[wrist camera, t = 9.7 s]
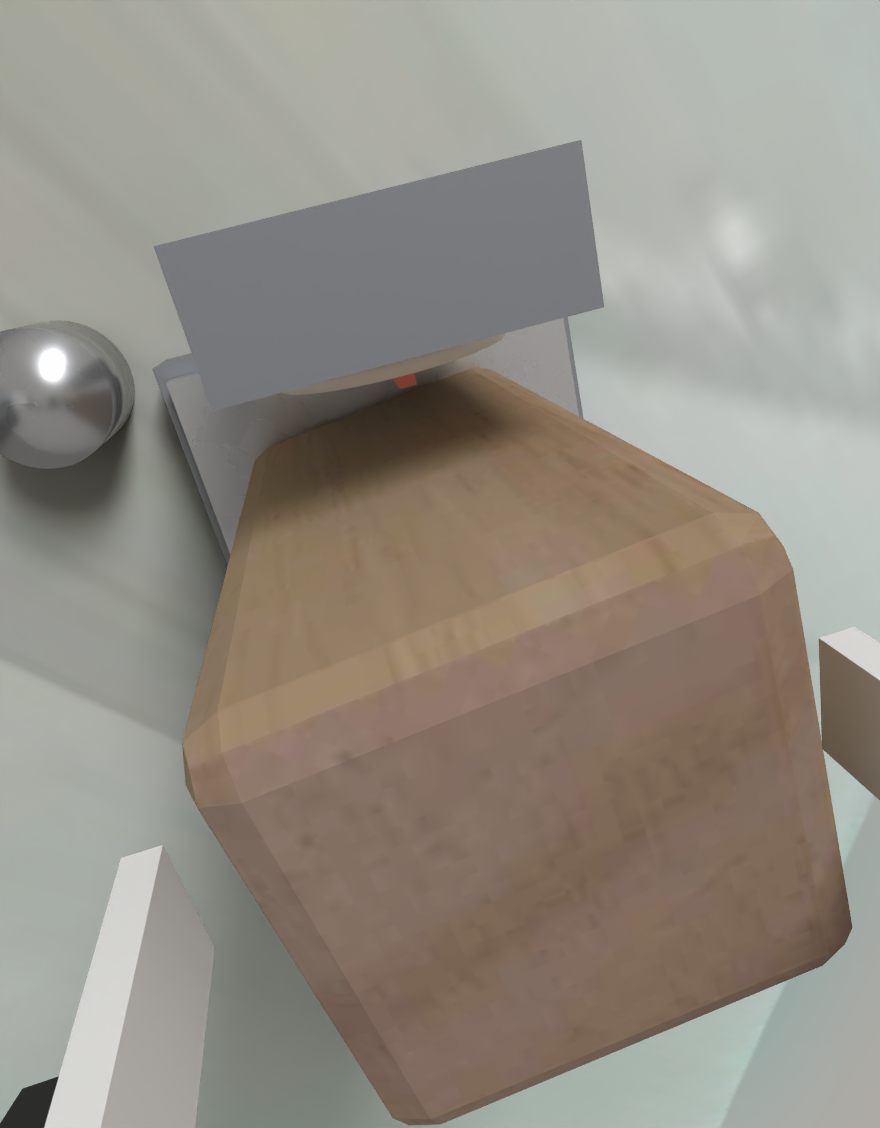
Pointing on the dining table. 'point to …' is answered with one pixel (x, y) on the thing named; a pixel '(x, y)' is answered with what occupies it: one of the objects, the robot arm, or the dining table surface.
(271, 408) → the pan
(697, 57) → the dining table surface
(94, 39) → the dining table surface
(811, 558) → the dining table surface
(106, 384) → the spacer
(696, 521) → the wooden block
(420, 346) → the base
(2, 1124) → the robot arm
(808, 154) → the dining table surface
